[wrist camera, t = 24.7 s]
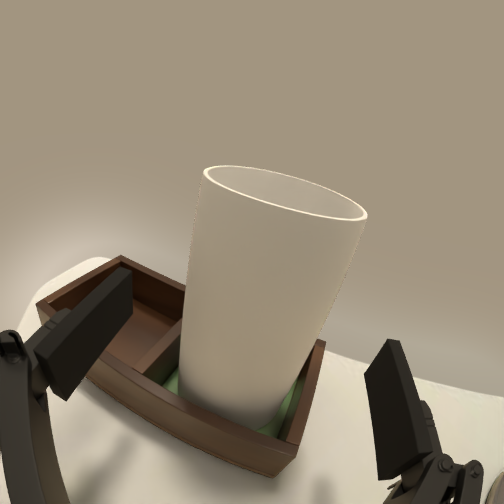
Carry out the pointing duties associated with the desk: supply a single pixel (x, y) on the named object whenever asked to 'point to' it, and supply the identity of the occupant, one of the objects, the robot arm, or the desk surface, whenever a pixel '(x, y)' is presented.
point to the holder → (166, 374)
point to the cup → (259, 287)
